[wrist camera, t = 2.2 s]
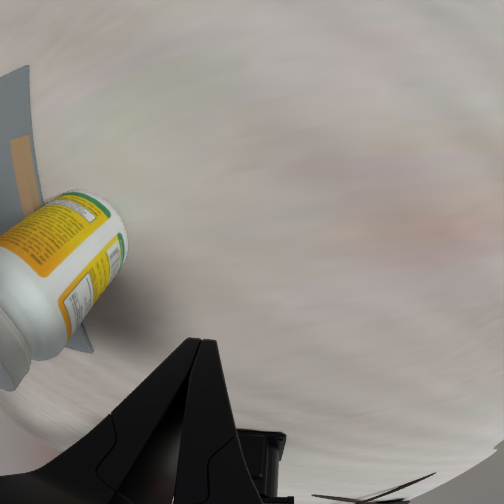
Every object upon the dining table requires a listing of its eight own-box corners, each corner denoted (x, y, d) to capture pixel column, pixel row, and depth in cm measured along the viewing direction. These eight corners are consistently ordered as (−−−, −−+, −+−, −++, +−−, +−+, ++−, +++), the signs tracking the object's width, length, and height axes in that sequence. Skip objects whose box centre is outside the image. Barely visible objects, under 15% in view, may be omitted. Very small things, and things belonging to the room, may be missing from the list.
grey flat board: (93, 351, 20) (88, 360, 19) (25, 333, 21) (19, 340, 20) (28, 65, 10) (16, 66, 9) (-40, 101, 11) (-49, 103, 10)
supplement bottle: (147, 260, 16) (58, 411, 7) (82, 282, 17) (-2, 400, 8) (101, 169, 13) (-51, 276, 5) (39, 207, 14) (-76, 304, 6)
